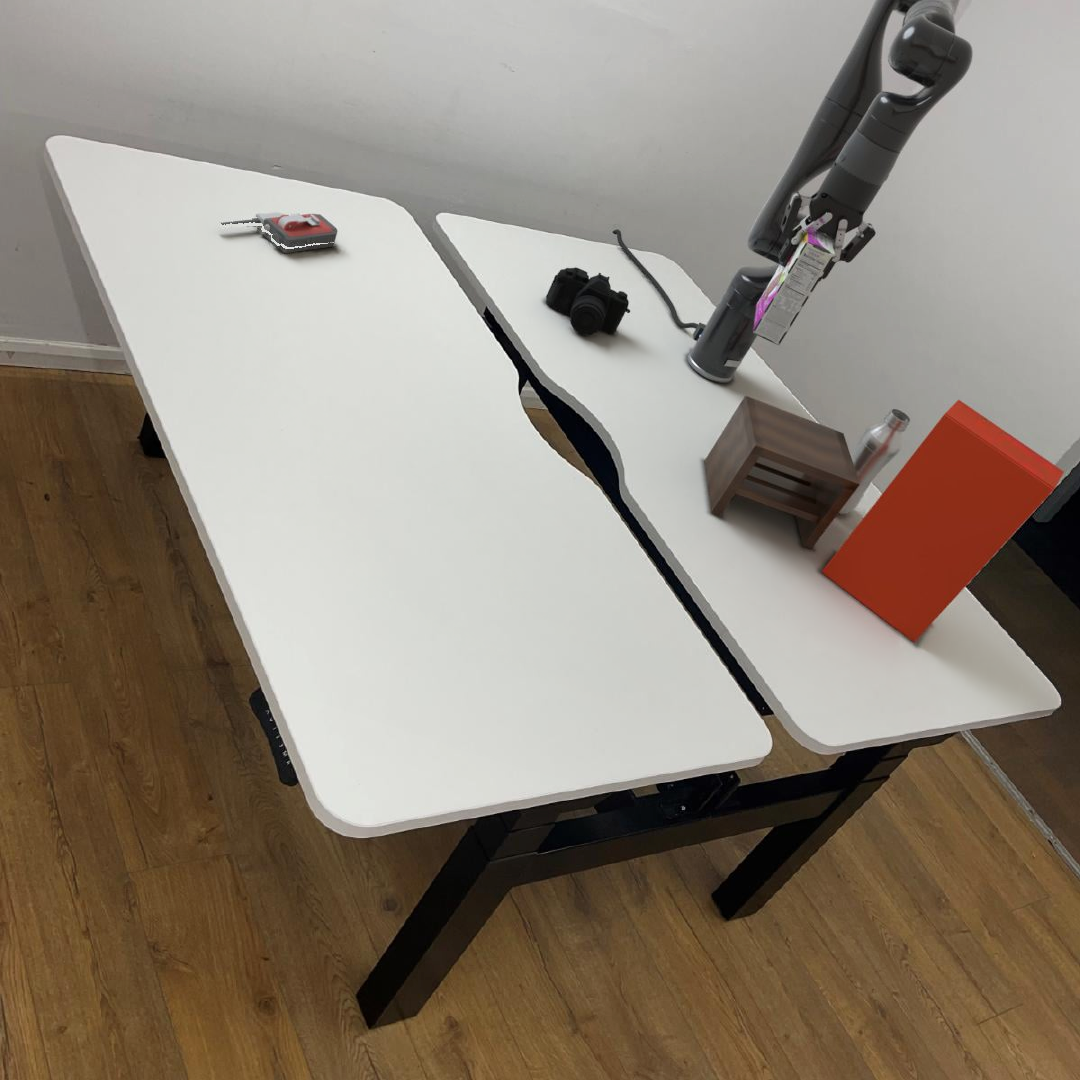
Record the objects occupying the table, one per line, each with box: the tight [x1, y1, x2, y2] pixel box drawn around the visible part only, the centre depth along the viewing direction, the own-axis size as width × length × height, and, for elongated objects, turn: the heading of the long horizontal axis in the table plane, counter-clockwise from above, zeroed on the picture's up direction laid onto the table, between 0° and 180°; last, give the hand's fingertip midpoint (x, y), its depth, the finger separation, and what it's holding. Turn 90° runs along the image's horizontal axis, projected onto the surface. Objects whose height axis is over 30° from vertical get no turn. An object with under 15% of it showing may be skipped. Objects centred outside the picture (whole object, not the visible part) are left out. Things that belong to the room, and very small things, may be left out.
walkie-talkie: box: [220, 211, 338, 254], centre depth 173 cm, size 9×4×20 cm
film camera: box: [545, 267, 631, 336], centre depth 191 cm, size 15×10×9 cm, turn 81°
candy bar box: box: [753, 231, 835, 346], centre depth 161 cm, size 11×5×16 cm, turn 168°
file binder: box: [821, 399, 1065, 643], centre depth 155 cm, size 8×17×32 cm, turn 55°
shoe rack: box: [703, 395, 860, 549], centre depth 167 cm, size 14×18×14 cm
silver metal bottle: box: [838, 408, 912, 515], centre depth 174 cm, size 6×7×20 cm
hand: (799, 271), depth 160 cm, fingers closed on candy bar box, 5 cm apart
